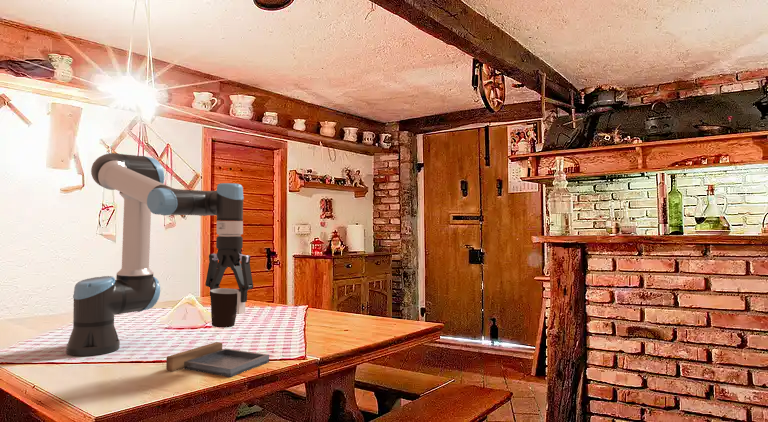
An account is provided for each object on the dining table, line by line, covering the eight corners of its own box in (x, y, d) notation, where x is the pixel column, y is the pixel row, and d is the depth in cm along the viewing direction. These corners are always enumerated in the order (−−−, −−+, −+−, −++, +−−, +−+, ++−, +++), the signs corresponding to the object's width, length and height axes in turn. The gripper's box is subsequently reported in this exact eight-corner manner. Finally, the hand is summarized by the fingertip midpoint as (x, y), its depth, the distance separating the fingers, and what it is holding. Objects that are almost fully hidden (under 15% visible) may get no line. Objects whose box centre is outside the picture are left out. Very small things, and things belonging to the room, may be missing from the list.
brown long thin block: (166, 370, 149) (166, 356, 149) (216, 354, 167) (216, 341, 167) (172, 371, 148) (172, 357, 148) (222, 355, 166) (222, 342, 166)
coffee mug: (229, 330, 149) (231, 295, 149) (201, 326, 151) (204, 291, 151) (248, 321, 160) (250, 288, 160) (222, 317, 162) (224, 285, 162)
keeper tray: (184, 369, 151) (184, 361, 151) (225, 355, 166) (225, 348, 166) (230, 377, 144) (230, 369, 144) (269, 362, 159) (269, 354, 159)
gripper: (192, 235, 157) (191, 311, 156) (250, 236, 148) (249, 317, 147) (211, 234, 163) (210, 307, 163) (266, 235, 154) (266, 313, 154)
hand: (228, 312), depth 155 cm, fingers closed on coffee mug, 9 cm apart
